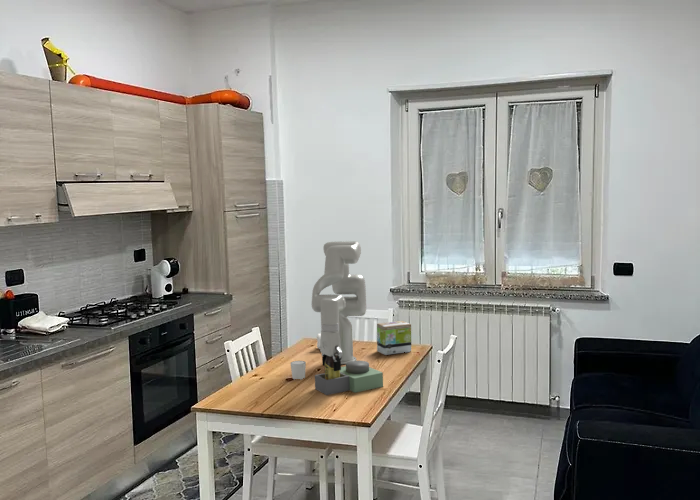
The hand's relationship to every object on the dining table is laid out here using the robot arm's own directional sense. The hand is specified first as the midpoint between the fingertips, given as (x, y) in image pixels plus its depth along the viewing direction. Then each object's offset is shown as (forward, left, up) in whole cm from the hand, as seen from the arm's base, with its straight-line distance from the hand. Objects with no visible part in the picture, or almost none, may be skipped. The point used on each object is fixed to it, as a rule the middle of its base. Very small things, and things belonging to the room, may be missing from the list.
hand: (331, 367), depth 269 cm
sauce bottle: (0, 0, -10) cm, 10 cm away
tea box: (-36, +56, -10) cm, 67 cm away
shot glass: (-24, -4, -10) cm, 26 cm away
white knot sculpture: (-61, +31, -10) cm, 69 cm away
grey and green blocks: (0, +7, -9) cm, 12 cm away
